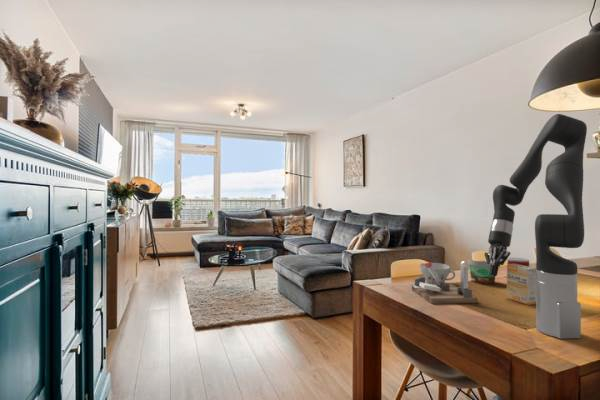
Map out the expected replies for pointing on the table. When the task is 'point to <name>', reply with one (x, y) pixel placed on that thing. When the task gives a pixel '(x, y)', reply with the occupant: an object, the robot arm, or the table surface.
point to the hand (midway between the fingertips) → (492, 275)
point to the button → (419, 280)
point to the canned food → (518, 261)
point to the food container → (480, 272)
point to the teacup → (441, 271)
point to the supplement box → (521, 283)
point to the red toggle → (433, 273)
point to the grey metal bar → (464, 276)
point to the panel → (445, 294)
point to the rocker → (430, 287)
